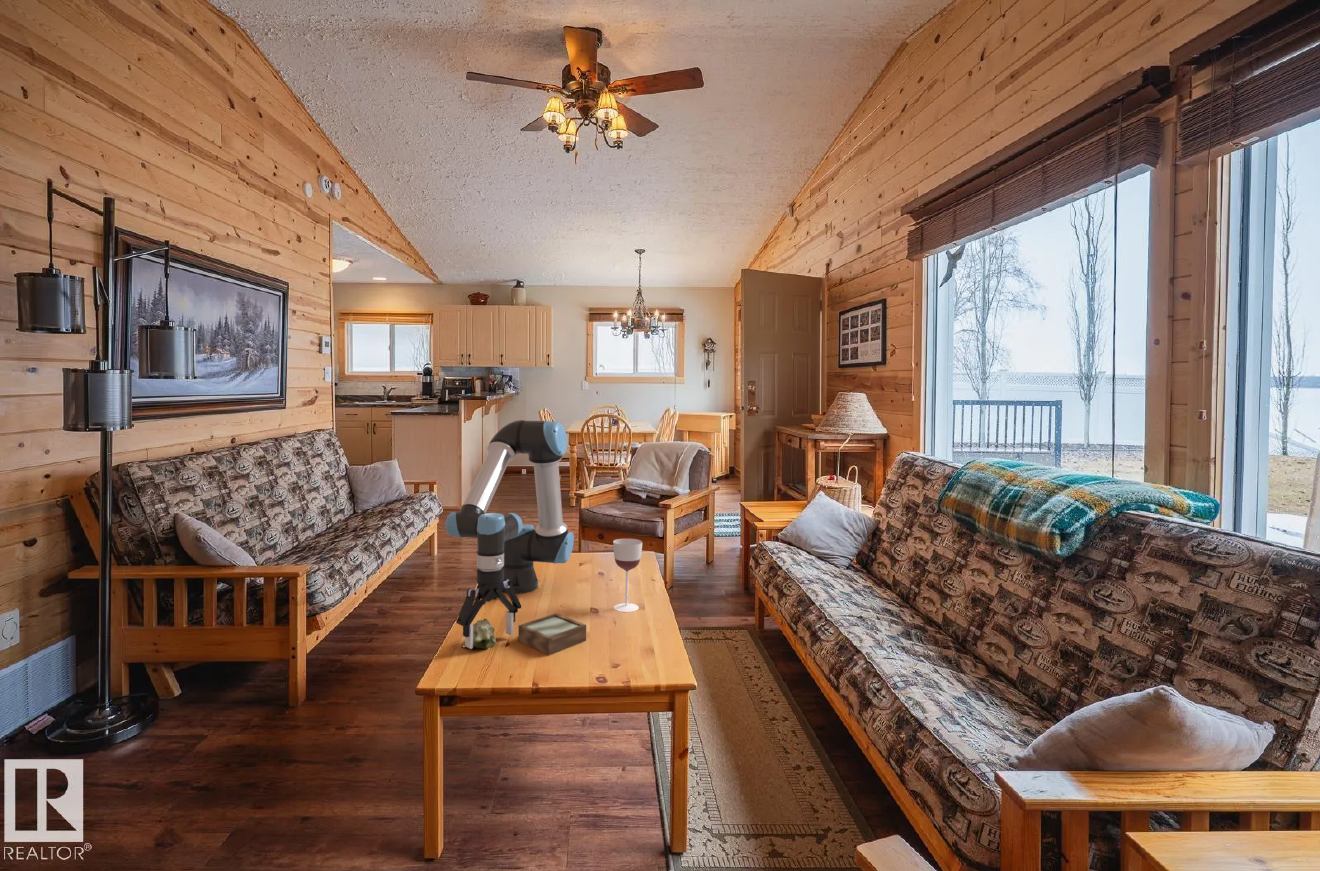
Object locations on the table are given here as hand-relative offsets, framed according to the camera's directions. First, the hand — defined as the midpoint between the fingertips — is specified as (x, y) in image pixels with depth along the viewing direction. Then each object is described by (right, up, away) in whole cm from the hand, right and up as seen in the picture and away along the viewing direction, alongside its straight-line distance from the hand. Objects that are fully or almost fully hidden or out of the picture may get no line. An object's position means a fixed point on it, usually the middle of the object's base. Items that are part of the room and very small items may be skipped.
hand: (489, 640), depth 176 cm
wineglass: (+38, 0, +34) cm, 51 cm away
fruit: (-2, -2, 0) cm, 3 cm away
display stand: (+17, -2, +4) cm, 18 cm away
